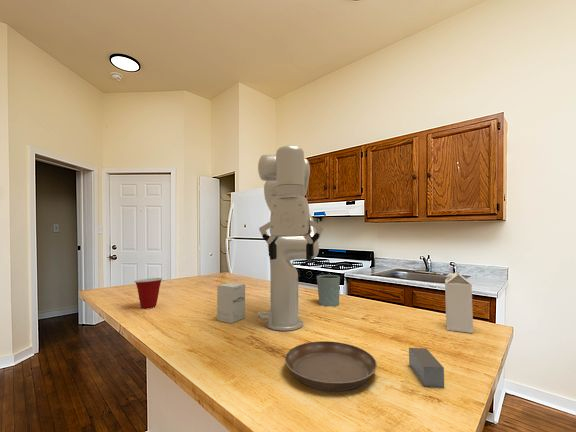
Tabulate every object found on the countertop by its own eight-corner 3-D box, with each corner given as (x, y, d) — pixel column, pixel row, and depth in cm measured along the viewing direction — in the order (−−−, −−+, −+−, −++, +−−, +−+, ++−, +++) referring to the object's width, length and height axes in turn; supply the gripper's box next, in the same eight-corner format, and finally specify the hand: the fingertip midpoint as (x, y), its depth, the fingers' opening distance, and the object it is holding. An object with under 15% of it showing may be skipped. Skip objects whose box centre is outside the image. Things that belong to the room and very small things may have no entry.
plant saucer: (397, 388, 61) (396, 372, 62) (302, 405, 56) (302, 387, 56) (349, 349, 81) (348, 337, 81) (275, 359, 75) (275, 346, 76)
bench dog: (424, 386, 62) (423, 366, 62) (409, 364, 72) (408, 347, 72) (444, 387, 61) (443, 367, 61) (426, 365, 71) (426, 348, 71)
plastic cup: (153, 302, 134) (153, 275, 134) (167, 306, 127) (167, 277, 128) (128, 307, 125) (129, 279, 126) (142, 312, 119) (142, 281, 119)
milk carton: (470, 326, 99) (468, 269, 100) (473, 333, 92) (471, 272, 93) (446, 324, 102) (444, 268, 103) (447, 330, 95) (445, 270, 96)
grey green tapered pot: (342, 307, 125) (341, 278, 125) (317, 307, 125) (317, 278, 125) (338, 301, 135) (338, 274, 135) (315, 301, 135) (315, 274, 136)
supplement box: (231, 323, 103) (232, 286, 104) (216, 320, 107) (216, 285, 108) (245, 318, 110) (245, 283, 110) (230, 315, 114) (230, 281, 114)
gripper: (254, 193, 78) (254, 260, 76) (319, 189, 72) (321, 260, 71) (265, 197, 85) (265, 258, 83) (325, 194, 80) (326, 259, 78)
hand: (290, 259), depth 77 cm, fingers open, 9 cm apart
